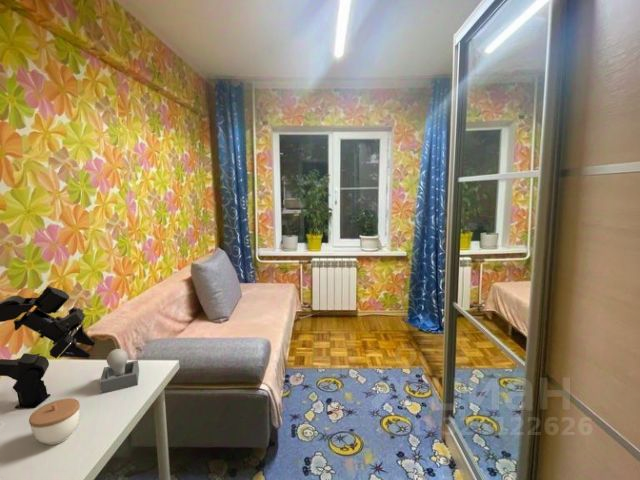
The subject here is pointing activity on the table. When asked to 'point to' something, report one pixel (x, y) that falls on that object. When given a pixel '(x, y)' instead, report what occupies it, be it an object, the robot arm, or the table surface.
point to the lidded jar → (55, 421)
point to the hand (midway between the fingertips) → (91, 350)
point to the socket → (119, 378)
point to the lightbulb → (117, 361)
